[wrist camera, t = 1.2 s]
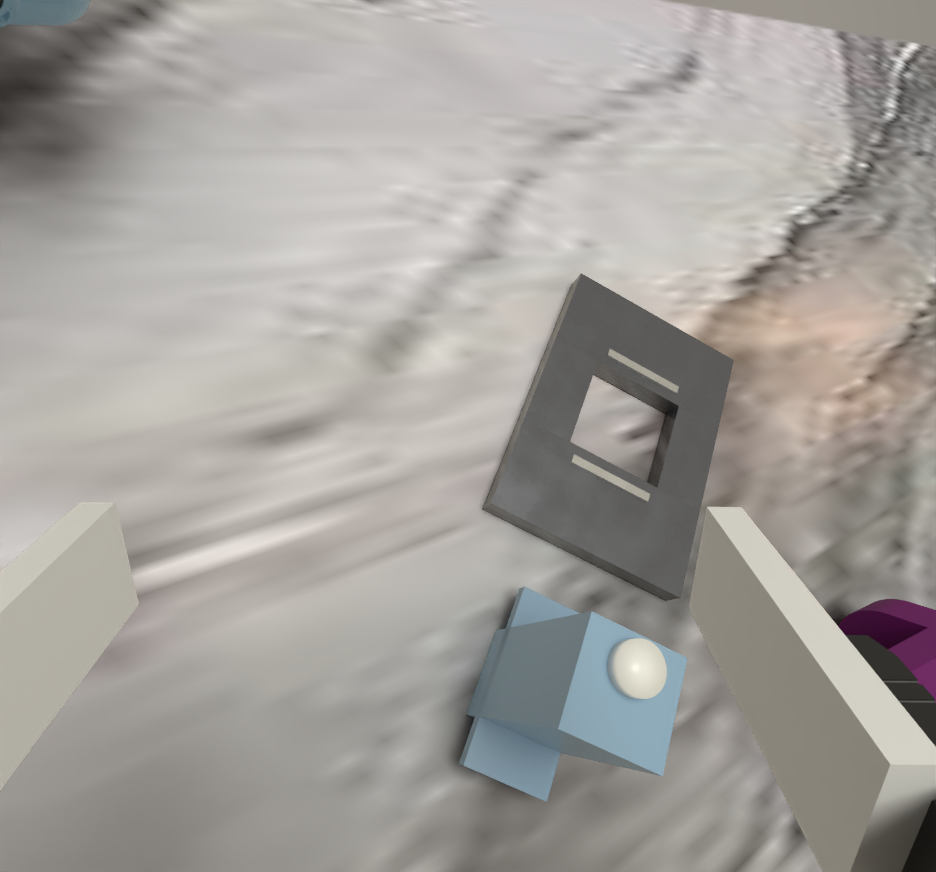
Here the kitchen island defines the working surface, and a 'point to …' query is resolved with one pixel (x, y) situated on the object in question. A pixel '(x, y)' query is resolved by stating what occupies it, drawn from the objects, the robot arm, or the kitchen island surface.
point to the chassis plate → (597, 481)
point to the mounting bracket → (900, 634)
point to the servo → (570, 696)
